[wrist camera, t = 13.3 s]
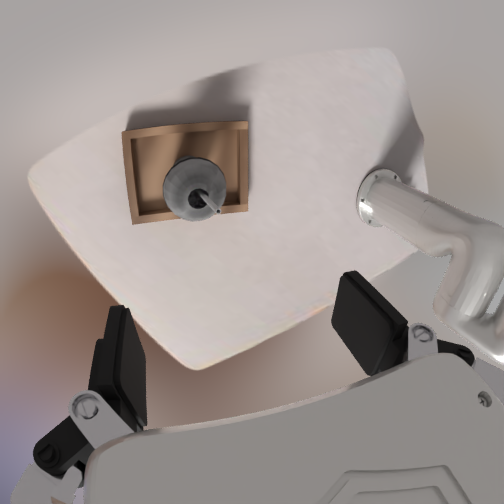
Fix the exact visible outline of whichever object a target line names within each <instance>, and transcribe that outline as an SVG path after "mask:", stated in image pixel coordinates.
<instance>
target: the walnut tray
mask: <svg viewBox="0 0 504 504" xmlns="http://www.w3.org/2000/svg"><path fill="white" fill-rule="evenodd" d="M122 144H123V156H124V166H125V175H126V184H127V192H128V199H129V206H130V212H131V219H132V225H134V224H141V223H148V222H156V221H164V220H172V219H180V217H178V216H177V215H175V214H174V213H173V212H172V211H171V209H170V208H169V207H168V206H167V205H166V202H165V200H164V197H163V182H164V179H165V176H166V174H167V173H168V171H169V170H170V169H171V167H173V165H174V163H175V162H176V161H177V160H178V159H179V158H180V157H183V156H189V155H190V156H194V157H202V158H205V159H208V160H211V161H212V162H213V163H215V164H216V165H218V166H219V168H220V169H221V171H222V172H223V173H224V177H225V180H226V197H225V200H224V203H223V205H222V206H221V208H220V209H221V213H220V214H225V213H235V212H246V211H248V121H223V122H202V123H188V124H177V125H167V126H158V127H149V128H142V129H135V130H128V131H123V132H122ZM214 215H216V213H215V214H214Z"/></svg>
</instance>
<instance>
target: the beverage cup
mask: <svg viewBox="0 0 504 504" xmlns="http://www.w3.org/2000/svg"><path fill="white" fill-rule="evenodd" d="M163 197H164V200H165V202H166V205H167V206H168V207H169V208H170V209H171V211H172V212H173V213H174V214H175V215H177V216H178V217H180V218H182V219H184V220H188V221H202V220H205V219H207V218H210V217H211V216H213V215H214V214H215V213H216V214H220V213H221V209H220V208H221V206H222V205H223V203H224V200H225V197H226V180H225V177H224V173H223V172H222V171H221V169H220V168H219V166H218V165H216V164H215V163H213V162H212V161H211V160H208V159H205V158H202V157H194V156H190V155H189V156H183V157H180V158H179V159H178V160H177V161H176V162H175V163H174V165H173V167H171V169H170V170H169V171H168V173H167V174H166V176H165V179H164V182H163Z"/></svg>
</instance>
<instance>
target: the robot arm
mask: <svg viewBox="0 0 504 504" xmlns="http://www.w3.org/2000/svg"><path fill="white" fill-rule="evenodd" d="M357 210H358V214H359V216H360V218H361V220H362V221H363V222H364V223H366V224H367V225H369V226H371V227H381V226H384V227H386V228H387V229H389V230H390V231H392V232H394V233H395V234H397V235H398V236H400V237H401V238H403V239H404V240H406V241H407V242H409V243H410V244H412V245H413V246H415V247H416V248H418V249H419V250H421V251H422V252H424V253H425V254H427V255H429V256H432V257H443V256H447V255H451V254H452V256H451V260H450V262H449V266H448V268H447V270H446V272H445V275H444V277H443V279H442V281H441V283H440V286H439V288H438V290H437V292H436V295H435V297H434V300H433V311H434V313H435V315H436V317H437V318H438V319H439V320H440V321H441V322H442V323H443V324H444V325H446V326H447V327H448V328H450V329H451V330H452V331H454V332H455V333H456V334H458V335H459V336H461V337H462V338H463V339H465V340H466V341H467V342H469V343H470V344H472V345H473V346H474V347H476V348H477V349H478V350H480V351H481V352H482V353H484V354H485V355H486V356H488V357H489V358H491V359H492V360H494V361H495V362H497V363H499V364H501V365H504V295H503V297H502V299H501V301H500V303H499V305H498V306H497V308H496V310H495V312H494V313H493V314H488V313H486V311H487V309H488V307H489V305H490V303H491V301H492V299H493V297H494V295H495V293H496V292H497V290H498V288H499V286H500V284H501V282H502V279H503V277H504V228H503V227H502V226H500V225H499V224H497V223H495V222H492V221H490V220H487V219H484V218H481V217H478V216H475V215H472V214H470V213H467V212H465V211H462V210H460V209H458V208H456V207H454V206H452V205H450V204H447V203H445V202H443V201H441V200H439V199H437V198H435V197H433V196H430V195H428V194H426V193H424V192H422V191H420V190H417V189H415V188H413V187H411V186H408V185H406V184H403V183H402V182H401V180H400V178H399V176H398V175H397V174H396V173H395V172H393V171H391V170H388V169H378V170H376V171H374V172H372V173H371V174H369V175H368V176H367V178H366V179H365V180H364V181H363V183H362V185H361V187H360V189H359V192H358V196H357ZM331 323H332V326H333V328H334V329H335V330H336V332H337V333H338V335H339V336H340V337H341V339H342V340H343V342H344V343H345V345H346V346H347V347H348V349H349V350H350V351H351V353H352V354H353V356H354V357H355V359H356V360H357V361H358V363H359V364H360V366H361V367H362V369H363V370H364V371H365V373H366V374H367V375H370V376H371V377H368V378H366V379H363V380H361V381H358V382H356V383H353V384H350V385H347V386H345V387H342V388H339V389H336V390H333V391H330V392H327V393H324V394H321V395H318V396H315V397H312V398H308V399H305V400H302V401H298V402H295V403H291V404H287V405H284V406H280V407H276V408H272V409H268V410H264V411H260V412H255V413H251V414H246V415H241V416H236V417H231V418H226V419H220V420H214V421H208V422H202V423H196V424H188V425H181V426H172V427H165V428H158V429H149V430H145V431H143V426H147V410H146V409H147V408H146V359H145V353H144V350H143V348H142V345H141V342H140V340H139V337H138V333H137V331H136V328H135V325H134V322H133V318H132V315H131V312H130V309H129V308H125V307H124V305H118V306H111V307H110V309H109V314H108V319H107V324H106V328H105V334H104V338H103V339H98V340H97V342H96V345H95V351H94V356H93V361H92V367H91V373H90V379H89V386H88V390H86V391H81V392H79V393H77V394H76V395H74V396H73V398H72V399H71V400H70V402H69V406H68V410H69V414H70V416H68V417H67V418H66V419H65V420H64V421H62V422H61V423H60V424H59V425H57V426H56V427H55V428H54V429H53V430H51V431H50V432H49V433H48V434H47V435H45V436H44V437H43V438H42V439H40V440H39V441H38V442H37V443H36V445H35V447H34V450H33V457H34V460H35V461H34V463H33V464H32V465H31V464H29V465H28V466H27V468H26V470H25V472H24V473H23V475H22V476H21V478H20V480H19V482H18V483H17V485H16V487H15V489H14V490H13V492H12V494H11V498H10V499H11V504H72V503H73V500H74V499H75V497H76V496H75V495H74V493H75V491H76V489H77V488H80V487H83V486H84V491H83V493H84V495H83V497H84V504H504V371H502V370H501V369H499V368H497V367H495V366H493V365H491V364H489V363H487V362H485V361H483V360H481V359H479V358H476V360H475V358H474V355H473V353H472V352H471V350H470V349H468V348H467V347H465V346H463V345H459V344H454V343H450V342H446V341H442V340H439V339H437V337H436V333H435V332H434V330H433V329H432V328H431V327H429V326H428V325H426V324H422V323H415V324H412V325H411V326H410V327H408V326H407V323H408V321H407V320H406V319H405V318H404V317H403V316H402V315H401V314H400V313H399V312H398V311H397V310H396V309H395V308H394V307H393V306H392V305H391V304H390V303H389V302H388V301H387V300H386V299H385V298H384V297H383V296H382V295H381V294H380V293H379V292H378V291H377V290H376V289H375V288H374V287H373V286H372V285H371V284H370V283H369V282H368V281H367V280H366V279H365V278H364V277H363V276H362V275H361V274H360V273H358V272H357V271H350V272H345V273H344V274H343V276H341V278H340V282H339V287H338V292H337V296H336V301H335V306H334V310H333V315H332V319H331Z"/></svg>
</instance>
